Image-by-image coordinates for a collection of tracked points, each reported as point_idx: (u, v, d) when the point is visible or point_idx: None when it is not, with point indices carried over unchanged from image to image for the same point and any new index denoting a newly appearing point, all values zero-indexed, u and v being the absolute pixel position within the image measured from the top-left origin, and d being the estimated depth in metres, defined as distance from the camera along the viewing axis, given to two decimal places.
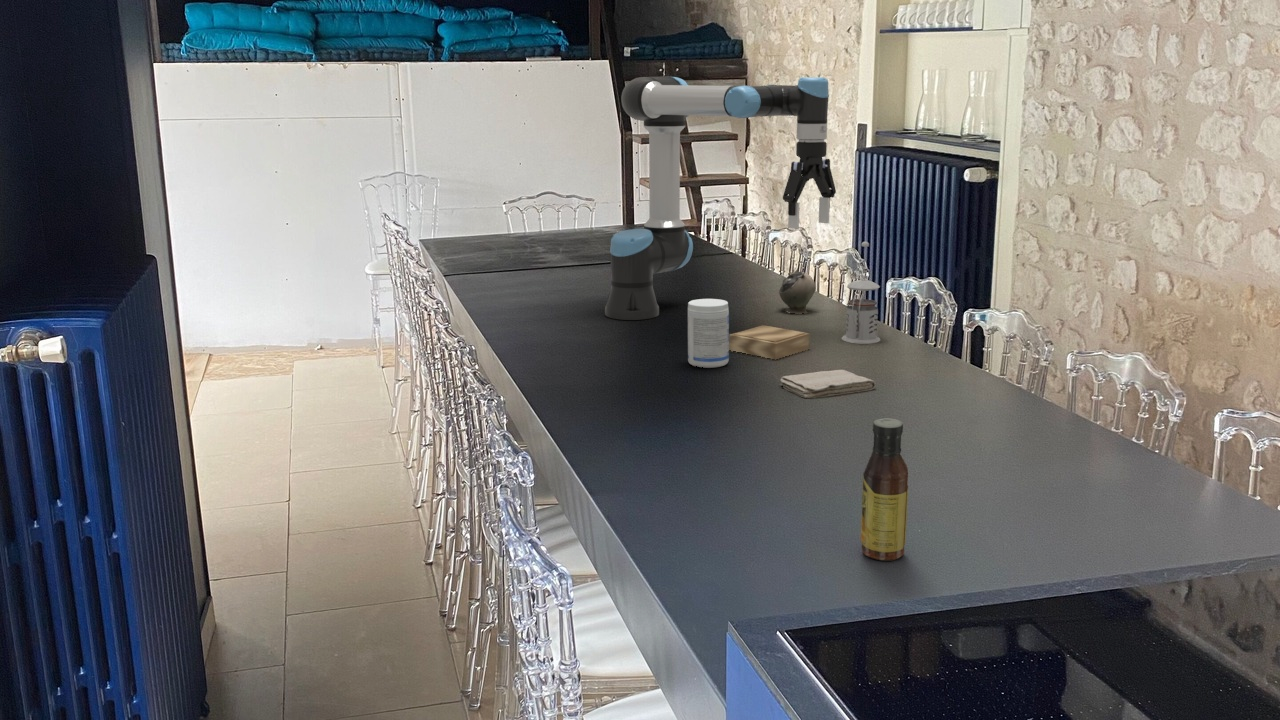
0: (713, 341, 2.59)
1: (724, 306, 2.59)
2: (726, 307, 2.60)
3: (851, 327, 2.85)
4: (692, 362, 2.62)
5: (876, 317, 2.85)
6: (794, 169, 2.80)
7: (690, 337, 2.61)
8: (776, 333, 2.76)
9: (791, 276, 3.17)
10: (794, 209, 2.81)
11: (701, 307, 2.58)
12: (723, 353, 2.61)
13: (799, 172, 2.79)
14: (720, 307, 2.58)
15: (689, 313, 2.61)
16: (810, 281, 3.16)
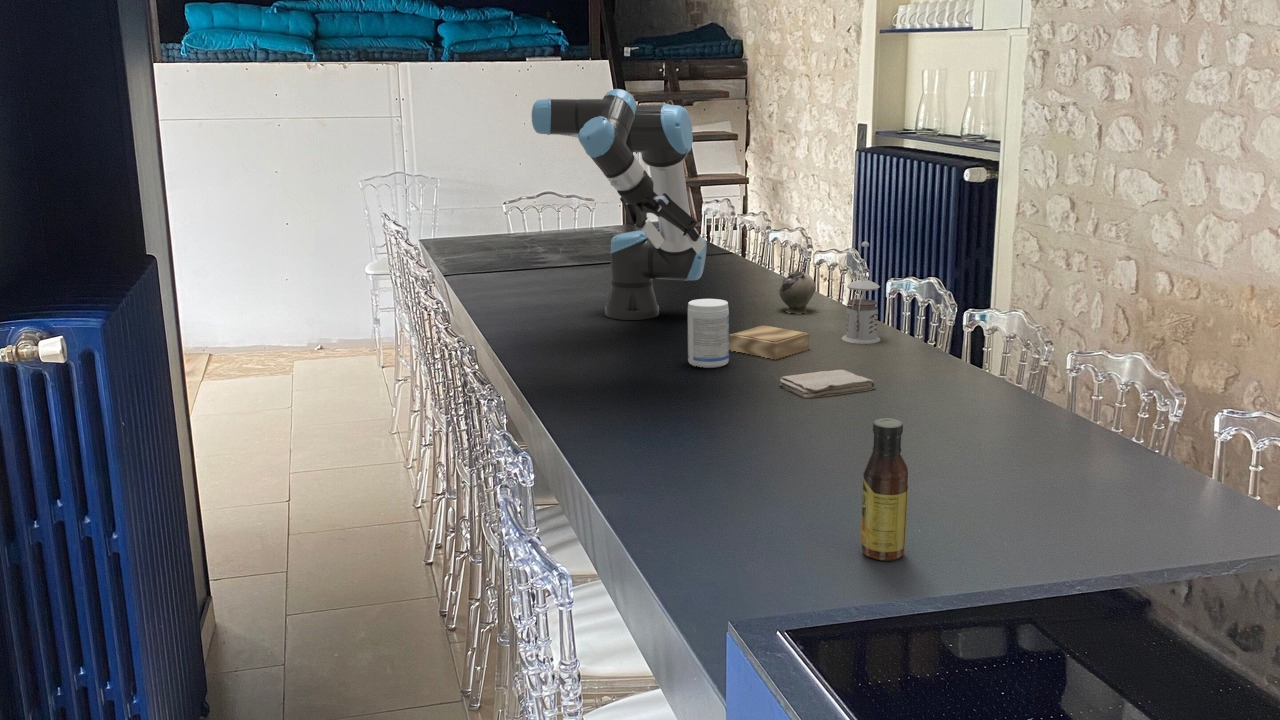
0: (713, 341, 2.59)
1: (724, 306, 2.59)
2: (726, 307, 2.60)
3: (851, 327, 2.85)
4: (692, 362, 2.62)
5: (876, 317, 2.85)
6: None
7: (690, 337, 2.61)
8: (776, 333, 2.76)
9: (791, 276, 3.17)
10: None
11: (701, 307, 2.58)
12: (723, 353, 2.61)
13: (625, 206, 2.51)
14: (720, 307, 2.58)
15: (689, 313, 2.61)
16: (810, 281, 3.16)
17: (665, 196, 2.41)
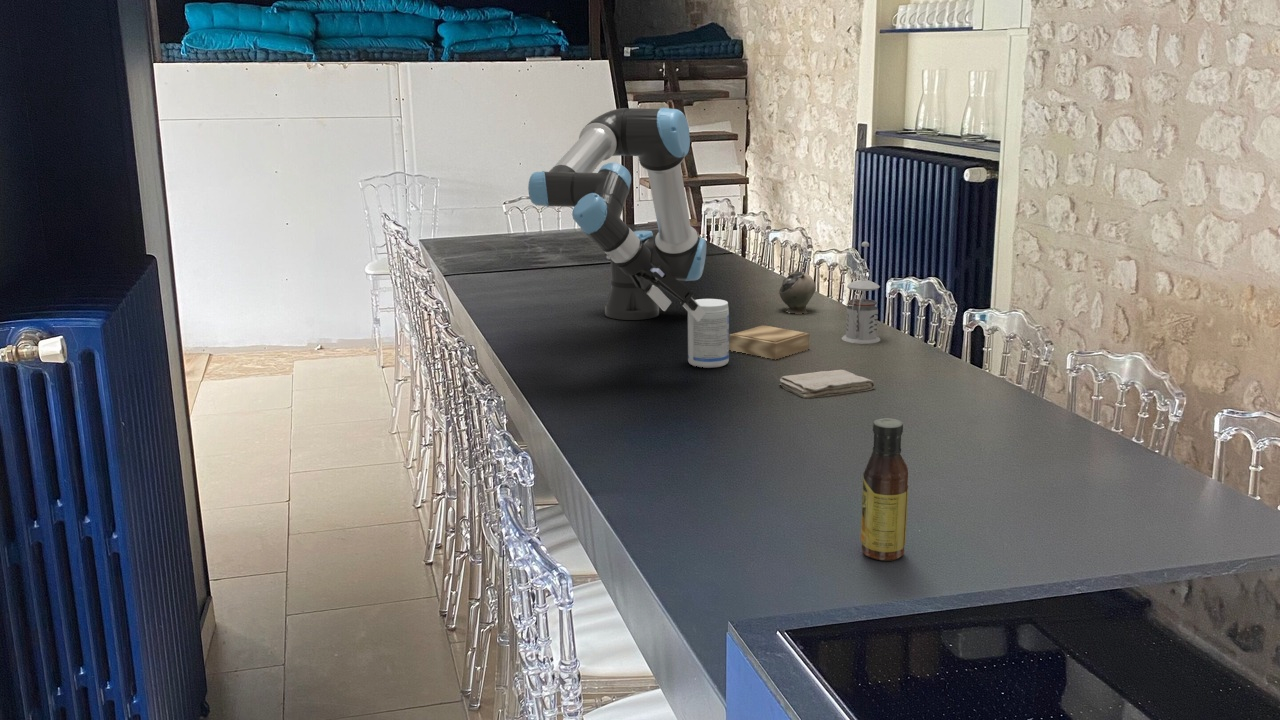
0: (713, 341, 2.59)
1: (724, 306, 2.59)
2: (726, 307, 2.60)
3: (851, 327, 2.85)
4: (692, 362, 2.62)
5: (876, 317, 2.85)
6: None
7: (690, 337, 2.61)
8: (776, 333, 2.76)
9: (791, 276, 3.17)
10: None
11: (701, 307, 2.58)
12: (723, 353, 2.61)
13: None
14: (720, 307, 2.58)
15: (689, 313, 2.61)
16: (810, 281, 3.16)
17: (660, 269, 2.43)
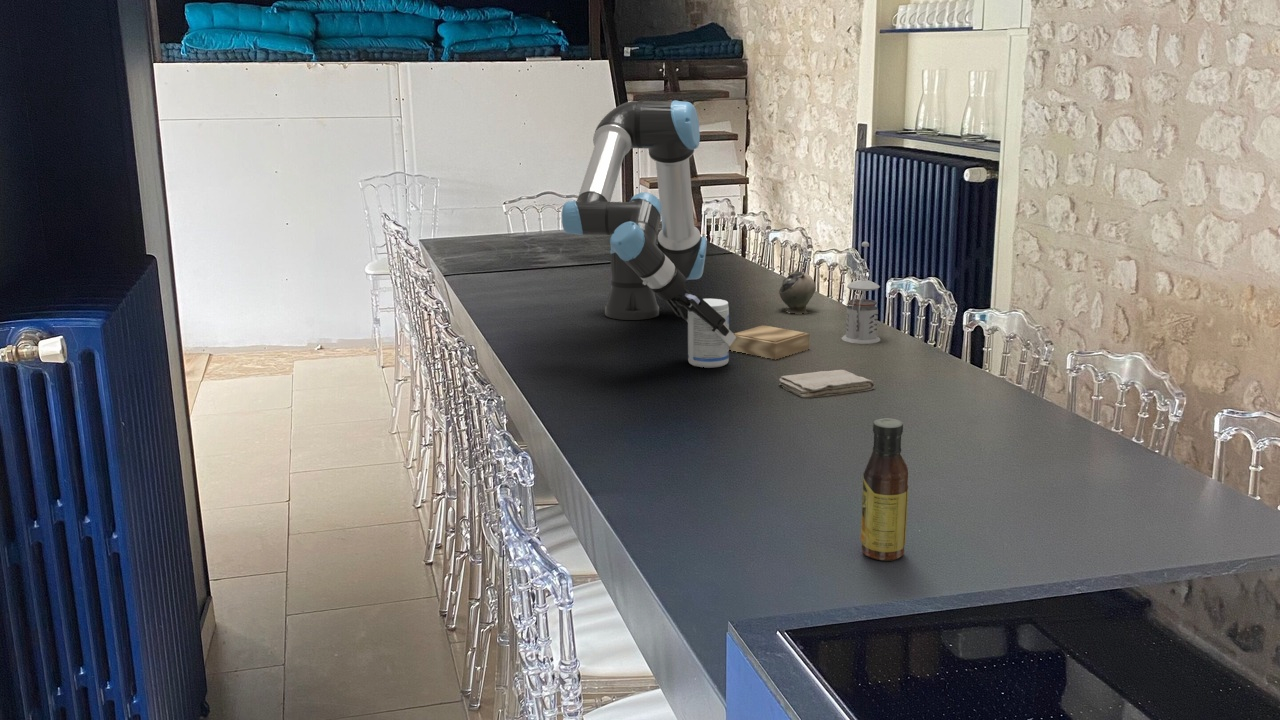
0: (713, 341, 2.59)
1: (724, 306, 2.59)
2: (726, 307, 2.60)
3: (851, 327, 2.85)
4: (692, 362, 2.62)
5: (876, 317, 2.85)
6: None
7: (690, 337, 2.61)
8: (776, 333, 2.76)
9: (791, 276, 3.17)
10: None
11: None
12: (723, 353, 2.61)
13: None
14: (720, 307, 2.58)
15: (689, 313, 2.60)
16: (810, 281, 3.16)
17: (697, 296, 2.51)
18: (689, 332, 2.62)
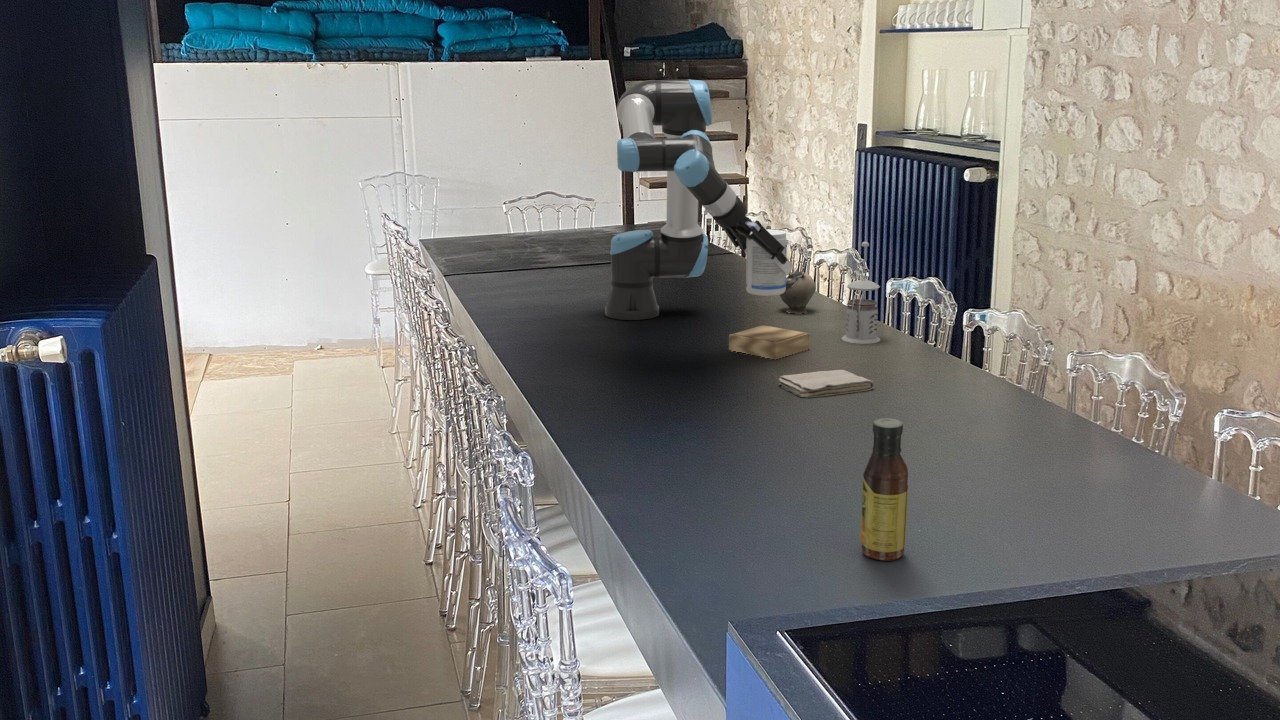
0: (771, 270, 2.66)
1: (782, 235, 2.66)
2: (784, 236, 2.67)
3: (851, 327, 2.85)
4: (750, 290, 2.69)
5: (876, 317, 2.85)
6: None
7: (749, 266, 2.69)
8: (776, 333, 2.76)
9: (791, 276, 3.17)
10: None
11: None
12: (781, 281, 2.68)
13: (724, 229, 2.70)
14: (779, 236, 2.65)
15: (748, 242, 2.68)
16: (810, 281, 3.16)
17: (758, 224, 2.58)
18: (748, 261, 2.69)
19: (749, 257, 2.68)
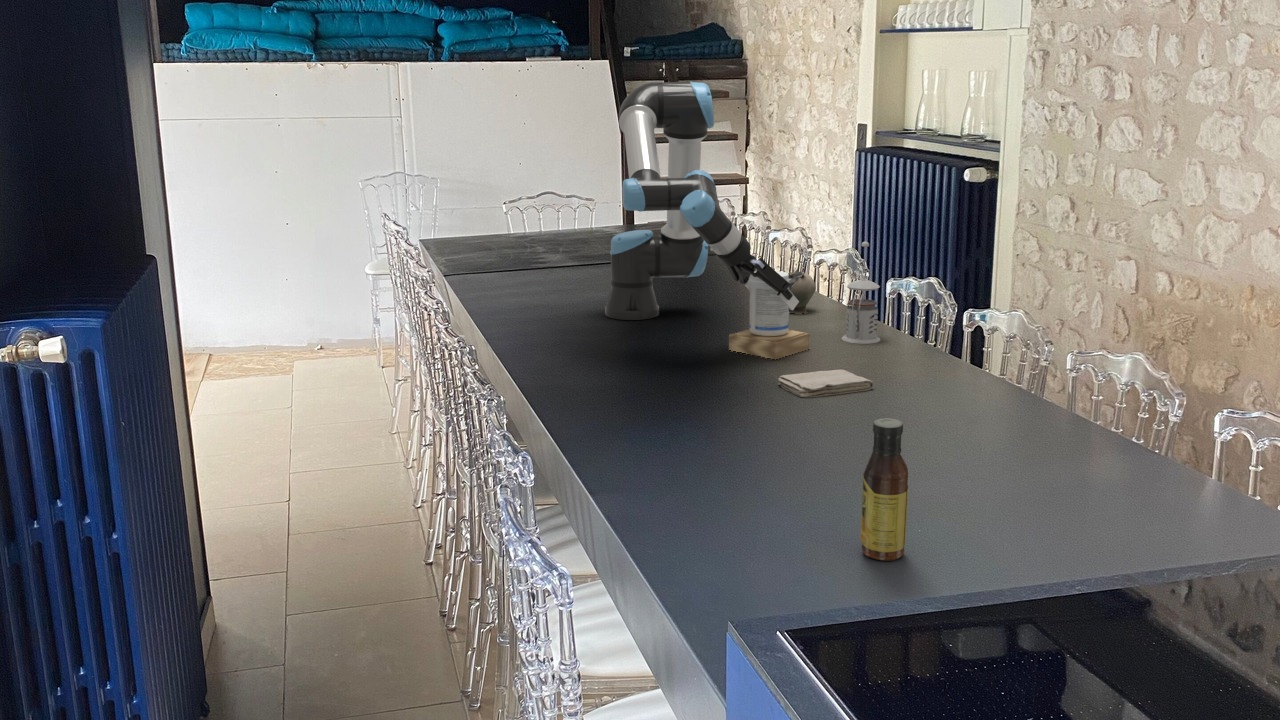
0: (774, 311, 2.71)
1: (785, 277, 2.70)
2: (787, 278, 2.71)
3: (851, 327, 2.85)
4: (754, 331, 2.74)
5: (876, 317, 2.85)
6: None
7: (752, 307, 2.73)
8: None
9: (791, 276, 3.17)
10: None
11: None
12: (784, 322, 2.72)
13: None
14: None
15: (751, 284, 2.72)
16: (810, 281, 3.16)
17: (761, 261, 2.62)
18: (751, 302, 2.73)
19: (752, 299, 2.72)
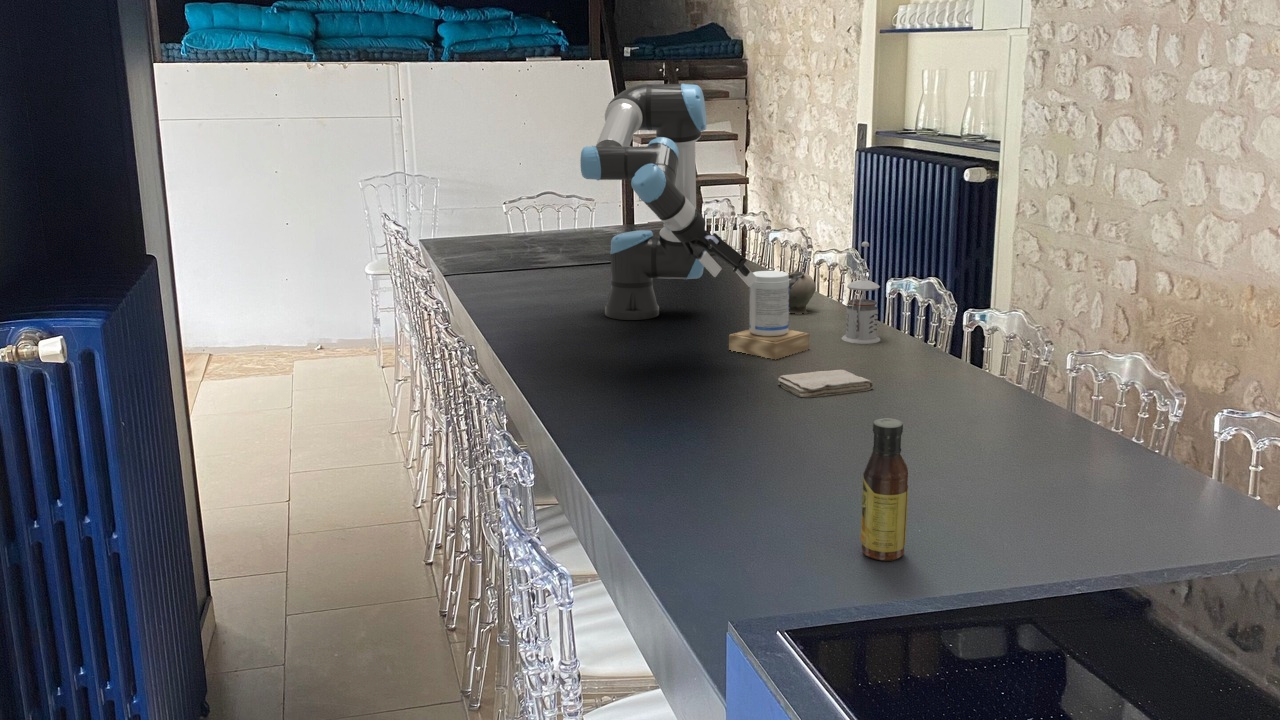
0: (774, 311, 2.71)
1: (785, 277, 2.70)
2: (787, 278, 2.71)
3: (851, 327, 2.85)
4: (754, 331, 2.74)
5: (876, 317, 2.85)
6: None
7: (752, 307, 2.73)
8: None
9: (791, 276, 3.17)
10: None
11: (763, 278, 2.69)
12: (784, 322, 2.72)
13: None
14: (782, 278, 2.70)
15: None
16: (810, 281, 3.16)
17: (715, 236, 2.54)
18: (751, 302, 2.73)
19: (752, 299, 2.72)
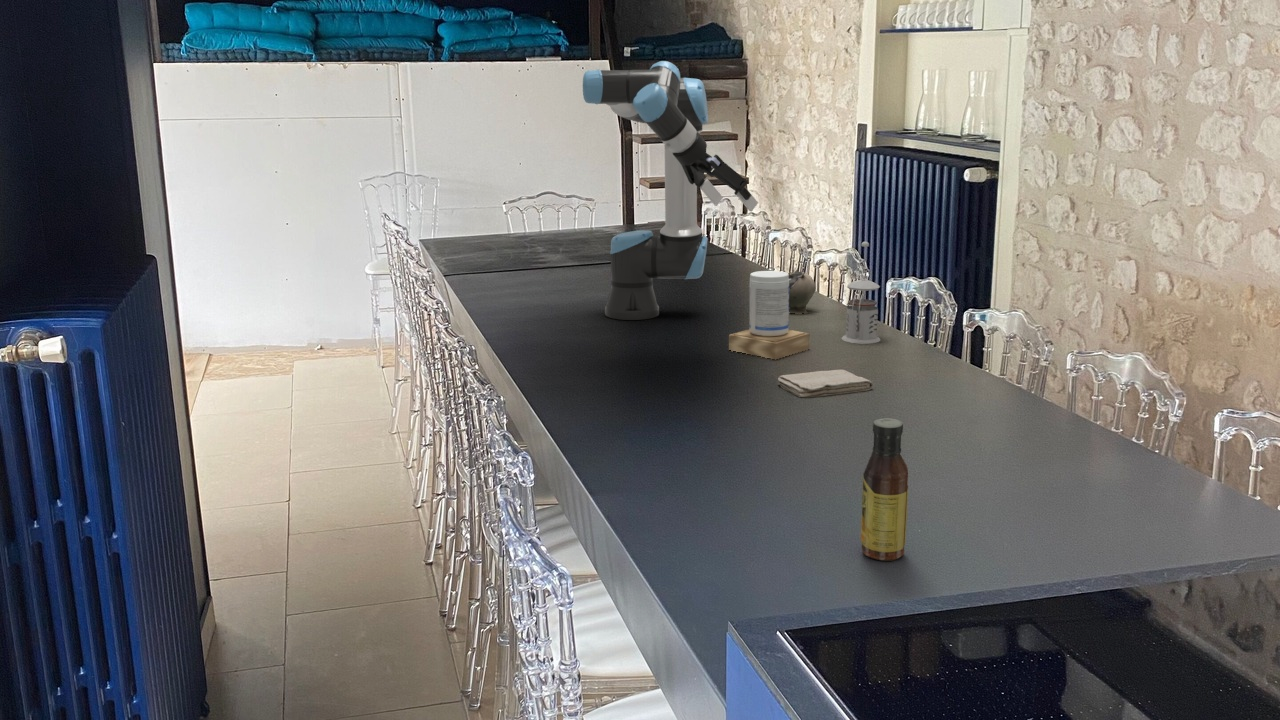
0: (774, 311, 2.71)
1: (785, 277, 2.70)
2: (787, 278, 2.71)
3: (851, 327, 2.85)
4: (754, 331, 2.74)
5: (876, 317, 2.85)
6: None
7: (752, 307, 2.73)
8: None
9: (791, 276, 3.17)
10: None
11: (763, 278, 2.69)
12: (784, 322, 2.72)
13: (683, 166, 2.66)
14: (782, 278, 2.70)
15: (751, 284, 2.72)
16: (810, 281, 3.16)
17: (716, 157, 2.55)
18: (751, 302, 2.73)
19: (752, 299, 2.72)
